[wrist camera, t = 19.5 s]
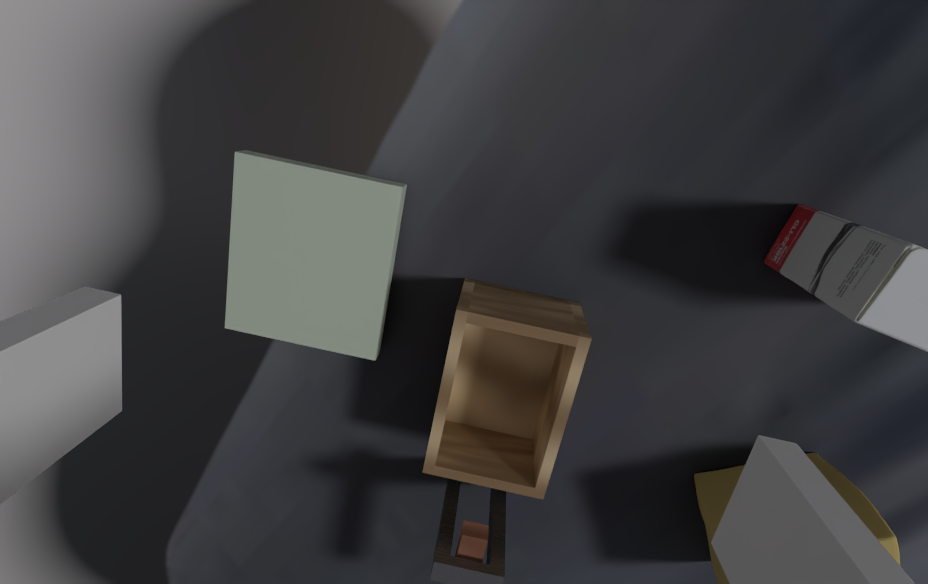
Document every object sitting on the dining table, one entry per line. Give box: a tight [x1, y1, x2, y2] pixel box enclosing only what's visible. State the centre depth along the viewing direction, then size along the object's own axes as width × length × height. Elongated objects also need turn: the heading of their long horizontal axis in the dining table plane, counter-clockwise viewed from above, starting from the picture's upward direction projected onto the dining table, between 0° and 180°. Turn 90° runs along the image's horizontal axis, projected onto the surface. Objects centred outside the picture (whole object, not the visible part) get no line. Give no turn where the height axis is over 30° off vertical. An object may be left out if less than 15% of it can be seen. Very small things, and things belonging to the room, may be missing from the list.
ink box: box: [764, 204, 928, 352], centre depth 34 cm, size 8×5×12 cm, turn 69°
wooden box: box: [422, 278, 592, 499], centre depth 41 cm, size 13×9×7 cm
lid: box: [225, 150, 407, 361], centre depth 42 cm, size 14×12×3 cm
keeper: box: [430, 478, 506, 584], centre depth 42 cm, size 2×5×12 cm, turn 78°
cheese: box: [694, 453, 900, 584], centre depth 42 cm, size 10×11×10 cm
